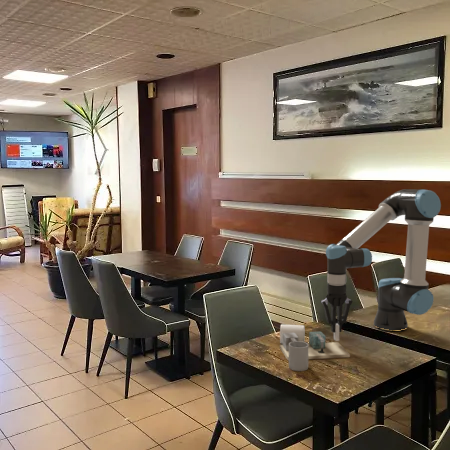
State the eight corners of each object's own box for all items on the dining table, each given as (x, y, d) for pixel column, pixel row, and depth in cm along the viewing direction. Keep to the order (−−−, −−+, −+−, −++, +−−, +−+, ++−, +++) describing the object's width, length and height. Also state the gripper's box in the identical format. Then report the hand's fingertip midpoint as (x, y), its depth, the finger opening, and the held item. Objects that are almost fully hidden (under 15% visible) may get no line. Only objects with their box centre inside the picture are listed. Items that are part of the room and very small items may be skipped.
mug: (303, 347, 203) (304, 328, 202) (279, 346, 205) (279, 327, 204) (304, 338, 215) (305, 320, 214) (282, 336, 216) (282, 319, 216)
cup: (295, 372, 177) (295, 349, 176) (281, 363, 186) (281, 340, 185) (312, 369, 180) (312, 346, 179) (297, 360, 189) (297, 337, 188)
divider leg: (320, 343, 203) (320, 331, 203) (328, 351, 193) (328, 339, 193) (309, 343, 203) (309, 331, 202) (316, 352, 193) (316, 339, 192)
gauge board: (337, 344, 205) (338, 329, 205) (349, 357, 191) (350, 340, 191) (279, 347, 202) (279, 332, 202) (287, 360, 189) (287, 344, 188)
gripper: (348, 280, 203) (348, 335, 205) (318, 282, 201) (318, 337, 204) (355, 284, 195) (355, 341, 198) (324, 286, 194) (323, 343, 196)
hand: (336, 339), depth 201 cm, fingers closed
